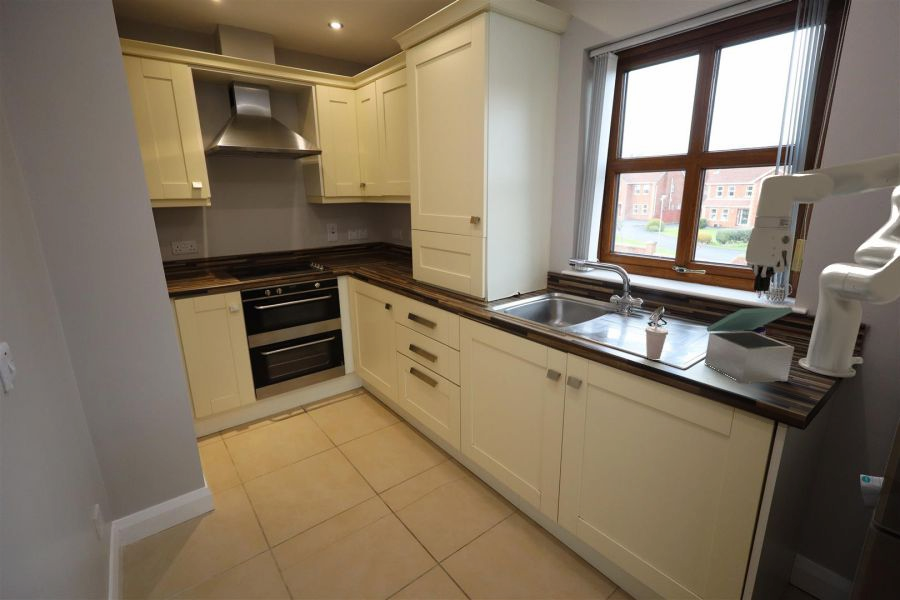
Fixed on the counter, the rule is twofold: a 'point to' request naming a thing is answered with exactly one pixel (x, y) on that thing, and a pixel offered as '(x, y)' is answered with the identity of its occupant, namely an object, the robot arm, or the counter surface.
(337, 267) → the counter surface
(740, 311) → the lid
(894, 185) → the robot arm
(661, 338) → the smoothie
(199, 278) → the counter surface
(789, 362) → the grey open box
